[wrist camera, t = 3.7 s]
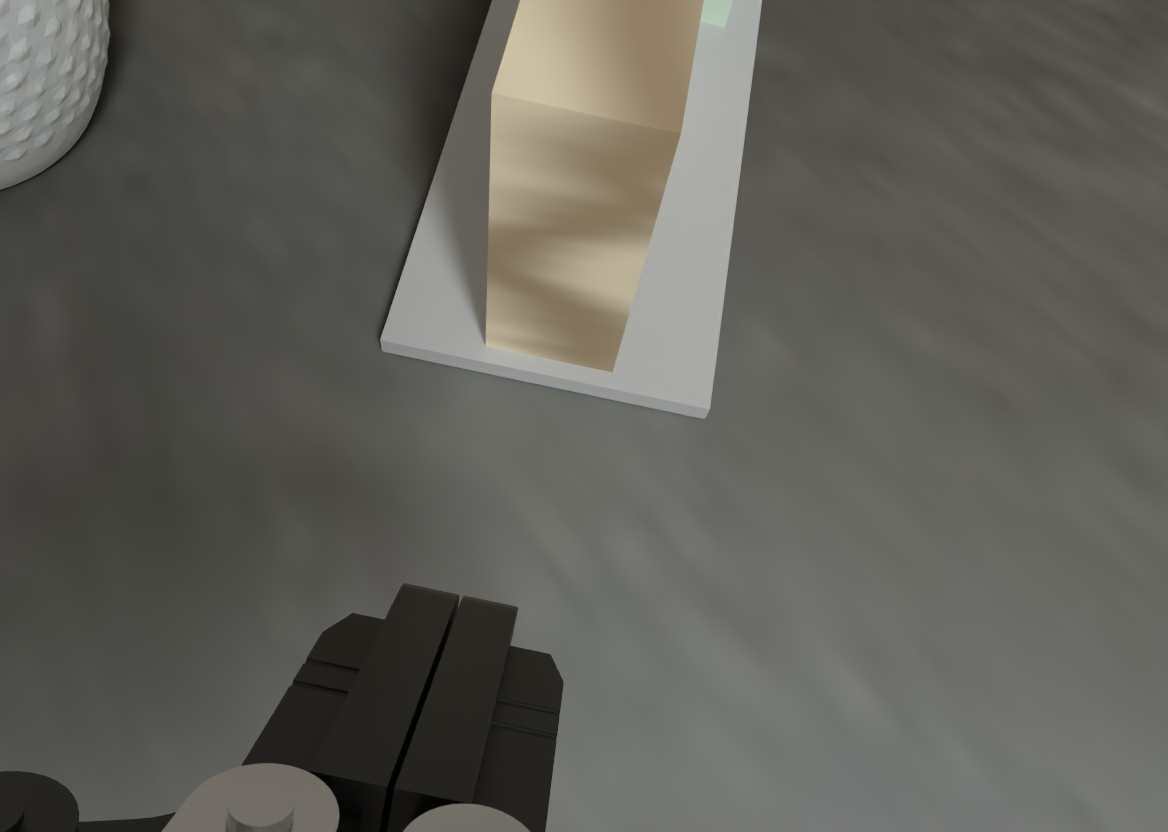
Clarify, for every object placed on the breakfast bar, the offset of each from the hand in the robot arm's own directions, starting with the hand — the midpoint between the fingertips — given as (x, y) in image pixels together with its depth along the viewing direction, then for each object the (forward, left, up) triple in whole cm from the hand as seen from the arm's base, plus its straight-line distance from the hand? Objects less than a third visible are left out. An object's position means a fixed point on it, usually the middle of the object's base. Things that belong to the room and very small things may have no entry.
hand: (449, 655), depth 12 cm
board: (0, +20, -10) cm, 23 cm away
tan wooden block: (0, +16, -9) cm, 18 cm away
